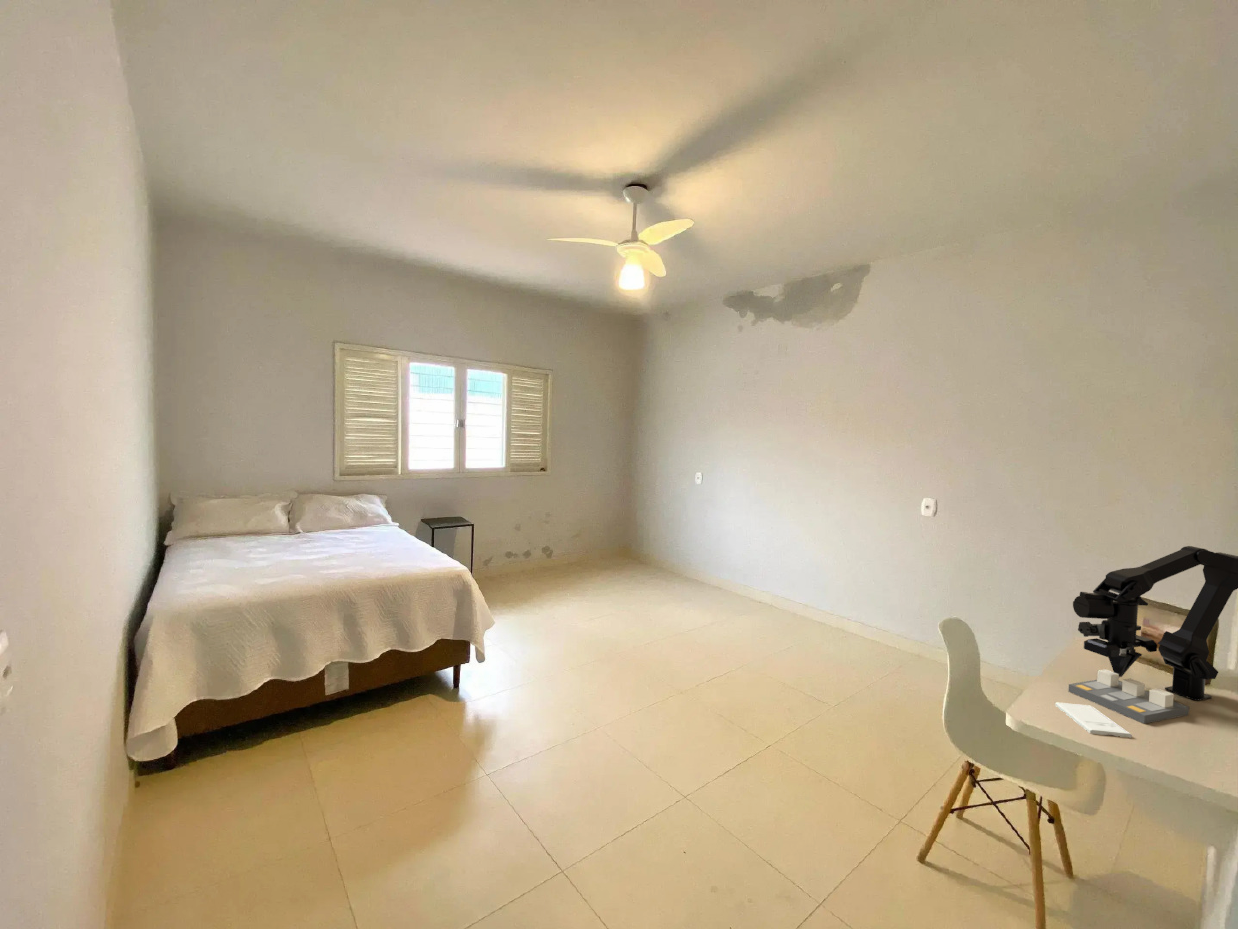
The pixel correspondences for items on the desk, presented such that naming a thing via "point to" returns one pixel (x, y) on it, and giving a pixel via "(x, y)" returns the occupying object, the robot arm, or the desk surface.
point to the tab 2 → (1133, 687)
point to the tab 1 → (1108, 677)
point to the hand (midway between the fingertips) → (1118, 676)
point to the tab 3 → (1161, 697)
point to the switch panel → (1127, 702)
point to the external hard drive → (1092, 720)
